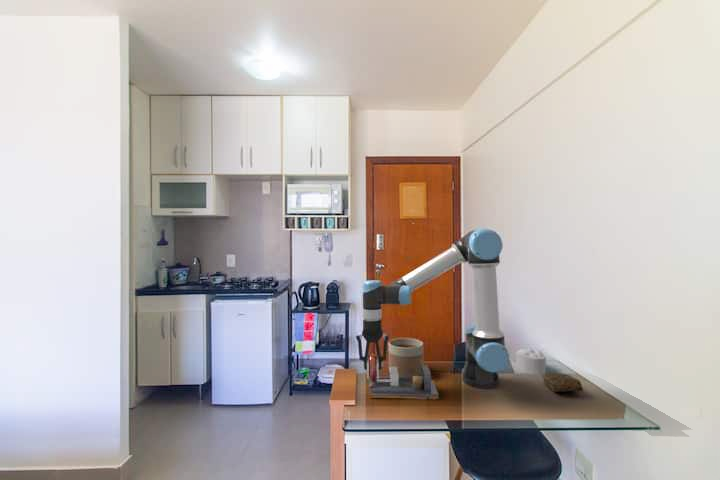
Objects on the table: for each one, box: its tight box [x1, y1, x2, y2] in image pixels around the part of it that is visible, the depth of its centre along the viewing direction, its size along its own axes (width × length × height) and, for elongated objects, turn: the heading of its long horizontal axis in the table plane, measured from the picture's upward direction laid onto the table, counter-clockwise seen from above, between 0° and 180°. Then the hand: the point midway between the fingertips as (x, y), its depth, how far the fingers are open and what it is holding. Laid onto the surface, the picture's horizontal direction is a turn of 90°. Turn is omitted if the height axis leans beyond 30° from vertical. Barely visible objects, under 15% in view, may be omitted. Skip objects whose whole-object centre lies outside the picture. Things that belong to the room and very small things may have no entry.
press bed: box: [369, 364, 440, 399], centre depth 133 cm, size 26×13×9 cm, turn 87°
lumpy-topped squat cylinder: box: [515, 348, 547, 376], centre depth 155 cm, size 10×13×9 cm
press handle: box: [368, 353, 399, 388], centre depth 133 cm, size 12×8×12 cm
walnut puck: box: [412, 376, 423, 389], centre depth 132 cm, size 4×4×4 cm
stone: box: [541, 372, 584, 393], centre depth 133 cm, size 10×14×6 cm
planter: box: [387, 337, 424, 379], centre depth 153 cm, size 16×16×14 cm
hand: (372, 377), depth 133 cm, fingers closed on press handle, 3 cm apart
